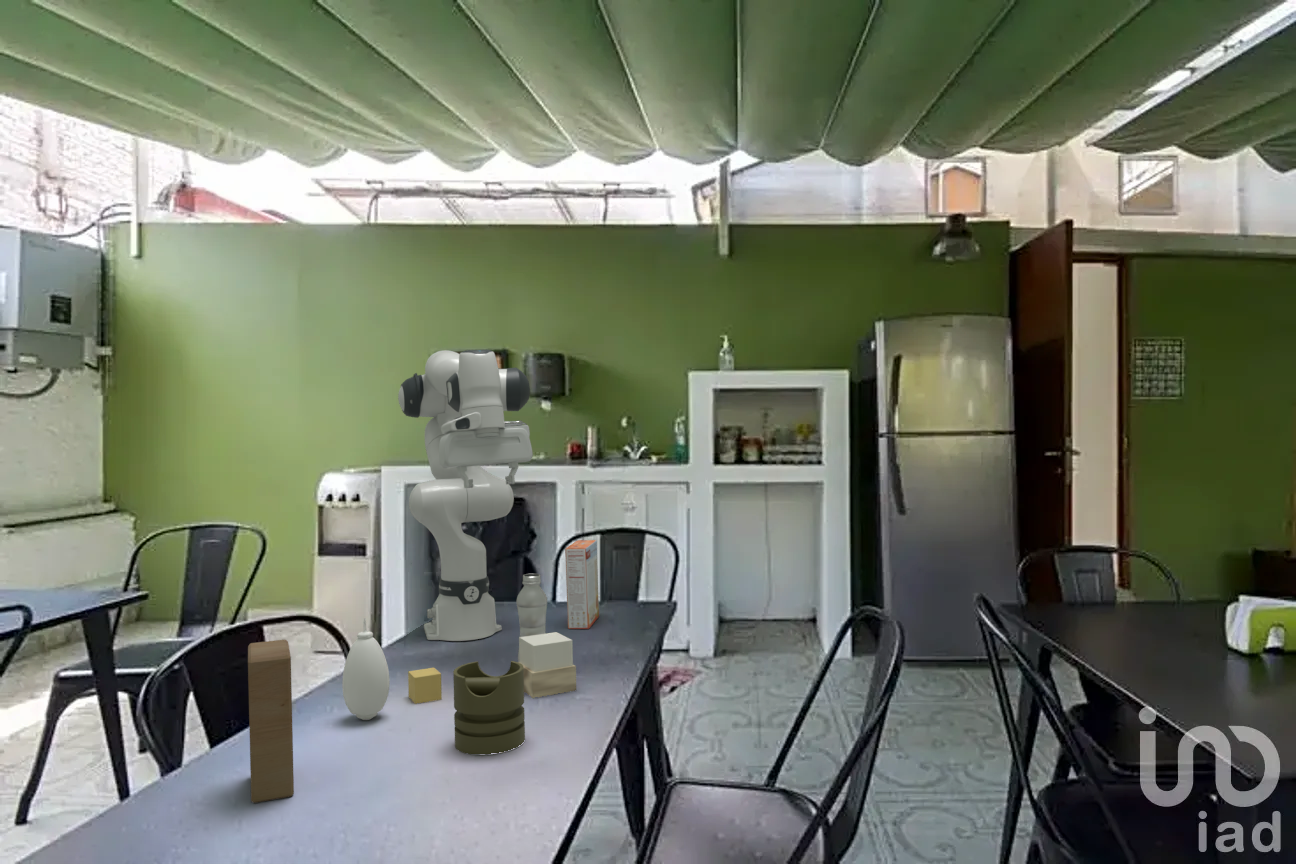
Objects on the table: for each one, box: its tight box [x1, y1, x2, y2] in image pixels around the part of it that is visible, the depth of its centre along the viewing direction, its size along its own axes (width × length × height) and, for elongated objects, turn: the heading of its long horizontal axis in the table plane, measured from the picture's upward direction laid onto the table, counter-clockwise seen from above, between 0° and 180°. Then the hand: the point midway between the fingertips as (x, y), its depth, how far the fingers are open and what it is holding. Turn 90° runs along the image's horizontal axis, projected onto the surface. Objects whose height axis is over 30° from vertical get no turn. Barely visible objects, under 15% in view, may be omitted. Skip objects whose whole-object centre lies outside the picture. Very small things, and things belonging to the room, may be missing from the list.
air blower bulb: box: [341, 617, 390, 721], centre depth 155 cm, size 8×8×18 cm
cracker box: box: [564, 539, 600, 630], centre depth 226 cm, size 14×6×21 cm, turn 172°
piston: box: [452, 660, 526, 755], centre depth 142 cm, size 11×12×11 cm
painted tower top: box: [518, 631, 574, 672], centre depth 171 cm, size 8×8×5 cm
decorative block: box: [247, 639, 295, 804], centre depth 126 cm, size 11×6×20 cm, turn 23°
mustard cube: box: [407, 667, 443, 705], centre depth 166 cm, size 5×5×5 cm
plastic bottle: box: [515, 573, 548, 662], centre depth 184 cm, size 6×7×20 cm
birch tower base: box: [517, 661, 577, 699], centre depth 171 cm, size 9×9×5 cm
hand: (489, 486), depth 187 cm, fingers open, 8 cm apart
